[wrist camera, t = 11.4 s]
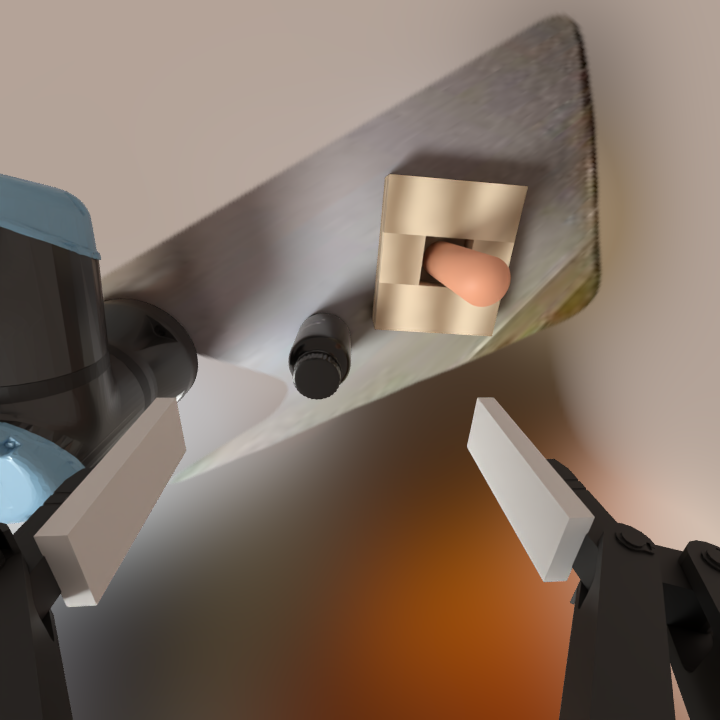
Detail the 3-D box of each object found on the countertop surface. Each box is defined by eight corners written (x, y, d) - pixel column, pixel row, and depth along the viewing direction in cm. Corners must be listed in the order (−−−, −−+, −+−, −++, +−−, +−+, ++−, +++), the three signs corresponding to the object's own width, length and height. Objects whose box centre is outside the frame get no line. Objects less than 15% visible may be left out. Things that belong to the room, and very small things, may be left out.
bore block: (372, 317, 44) (374, 329, 40) (385, 177, 38) (390, 174, 34) (478, 324, 45) (491, 336, 41) (508, 188, 39) (528, 186, 35)
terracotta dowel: (420, 275, 41) (455, 305, 28) (425, 239, 39) (465, 253, 26) (453, 277, 41) (503, 308, 28) (459, 242, 40) (516, 257, 27)
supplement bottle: (311, 302, 43) (300, 334, 32) (359, 326, 45) (364, 365, 34) (289, 347, 46) (271, 392, 35) (336, 369, 47) (333, 418, 36)
